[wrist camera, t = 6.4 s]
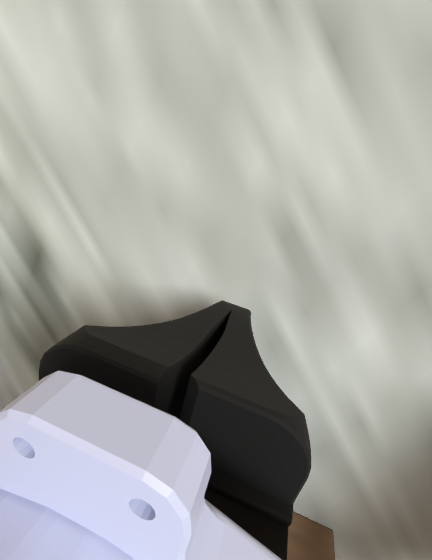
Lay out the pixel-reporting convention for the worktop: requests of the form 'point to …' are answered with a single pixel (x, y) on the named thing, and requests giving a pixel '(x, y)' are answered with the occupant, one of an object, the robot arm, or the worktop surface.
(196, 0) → the worktop surface
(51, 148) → the worktop surface
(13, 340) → the worktop surface
